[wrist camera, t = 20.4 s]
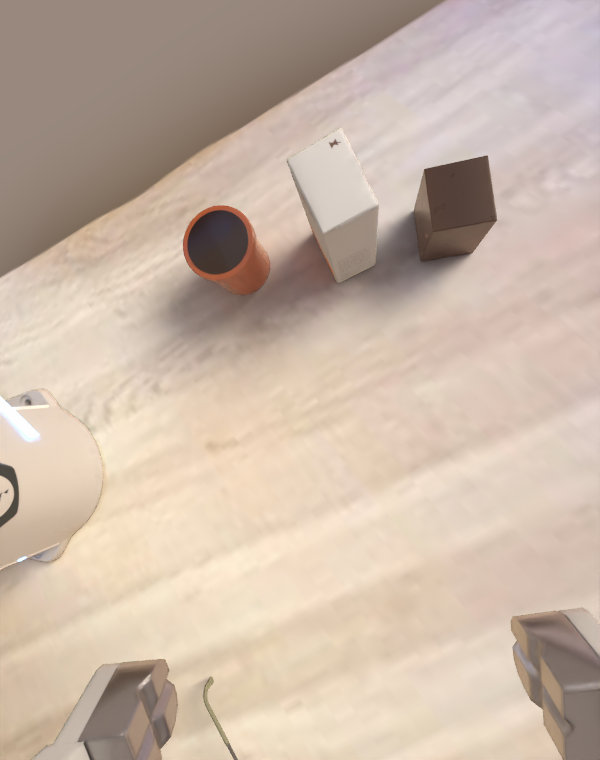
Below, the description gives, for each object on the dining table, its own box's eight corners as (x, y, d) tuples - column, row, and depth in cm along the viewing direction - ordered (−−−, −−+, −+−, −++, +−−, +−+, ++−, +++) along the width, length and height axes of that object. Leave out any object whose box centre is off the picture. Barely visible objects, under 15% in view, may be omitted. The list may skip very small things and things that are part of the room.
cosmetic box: (311, 233, 36) (283, 156, 24) (350, 212, 35) (342, 122, 24) (337, 287, 35) (321, 235, 24) (377, 266, 35) (382, 203, 23)
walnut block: (420, 261, 34) (432, 232, 28) (413, 210, 34) (424, 168, 28) (472, 252, 33) (497, 220, 27) (465, 200, 34) (488, 154, 27)
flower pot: (217, 303, 38) (186, 285, 31) (211, 243, 38) (179, 213, 32) (277, 293, 37) (257, 272, 30) (270, 231, 37) (249, 197, 30)
